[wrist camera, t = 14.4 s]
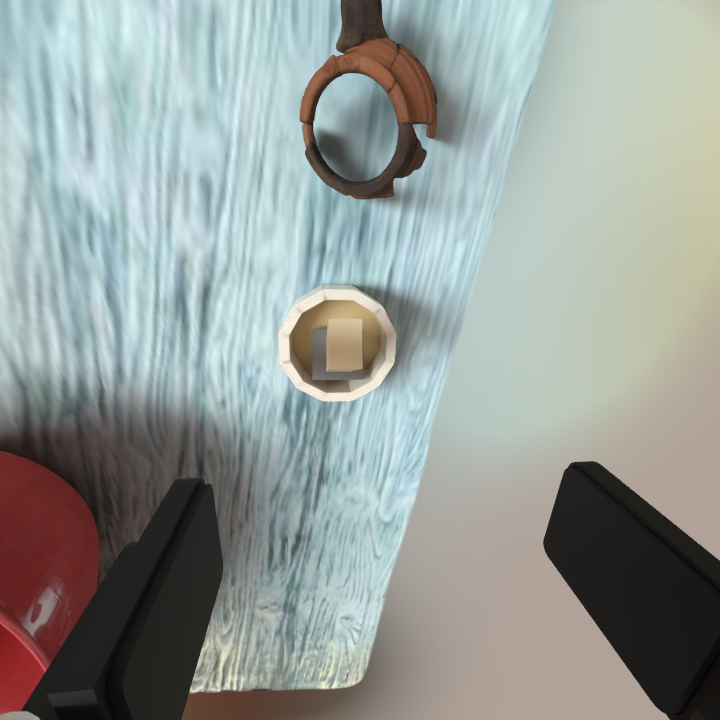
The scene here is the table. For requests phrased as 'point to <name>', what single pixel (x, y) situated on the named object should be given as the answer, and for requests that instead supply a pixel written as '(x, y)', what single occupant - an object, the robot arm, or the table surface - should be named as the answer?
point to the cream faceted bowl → (315, 315)
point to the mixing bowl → (40, 572)
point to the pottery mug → (397, 77)
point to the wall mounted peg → (338, 351)
